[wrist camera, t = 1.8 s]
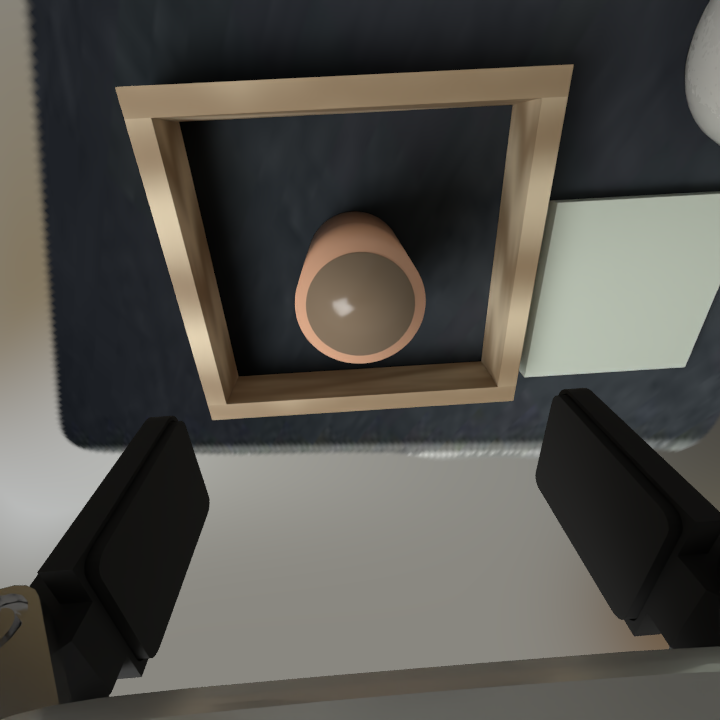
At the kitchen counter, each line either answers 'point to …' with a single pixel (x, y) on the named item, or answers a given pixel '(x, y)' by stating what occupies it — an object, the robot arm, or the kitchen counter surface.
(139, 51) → the kitchen counter surface
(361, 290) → the terracotta pot
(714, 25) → the lidded jar
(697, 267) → the sage tile
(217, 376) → the frame
